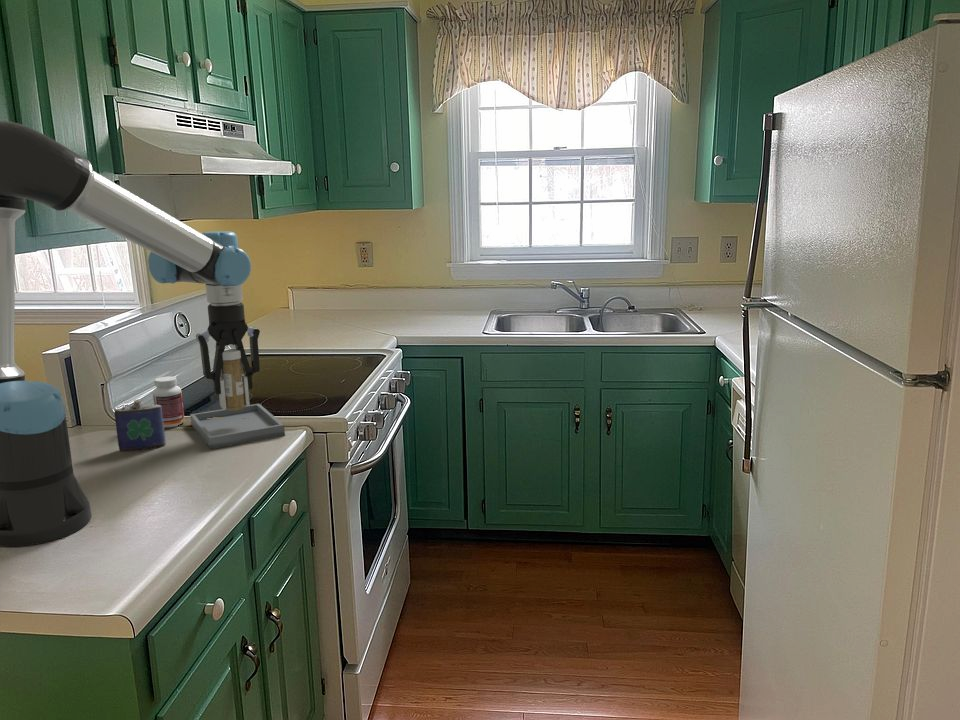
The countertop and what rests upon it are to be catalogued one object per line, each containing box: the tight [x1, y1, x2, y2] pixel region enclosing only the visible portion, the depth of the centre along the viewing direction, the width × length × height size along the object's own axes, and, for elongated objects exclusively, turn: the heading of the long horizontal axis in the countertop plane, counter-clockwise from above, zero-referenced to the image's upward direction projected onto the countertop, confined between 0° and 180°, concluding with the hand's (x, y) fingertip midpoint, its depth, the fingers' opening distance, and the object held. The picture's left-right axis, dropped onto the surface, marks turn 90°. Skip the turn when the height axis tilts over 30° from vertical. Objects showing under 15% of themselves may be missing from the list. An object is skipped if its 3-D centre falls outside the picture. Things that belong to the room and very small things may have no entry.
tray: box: [189, 403, 286, 450], centre depth 172 cm, size 16×20×2 cm
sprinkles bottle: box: [221, 347, 247, 411], centre depth 169 cm, size 5×5×14 cm
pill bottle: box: [152, 375, 185, 429], centre depth 176 cm, size 6×6×11 cm
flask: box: [114, 399, 167, 453], centre depth 160 cm, size 9×3×11 cm, turn 112°
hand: (235, 405), depth 171 cm, fingers closed on sprinkles bottle, 4 cm apart
